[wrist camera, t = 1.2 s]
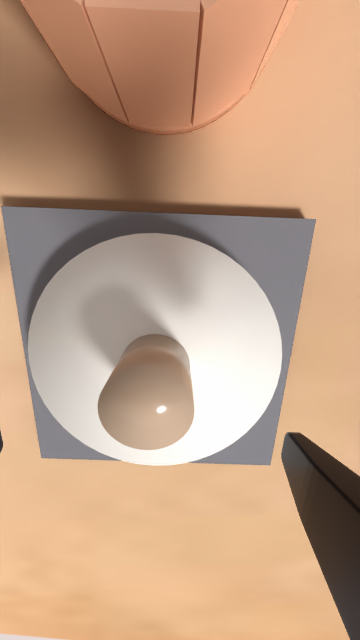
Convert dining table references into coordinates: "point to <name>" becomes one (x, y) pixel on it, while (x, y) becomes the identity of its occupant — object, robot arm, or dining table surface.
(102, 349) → the lid
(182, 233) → the mat
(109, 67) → the bowl
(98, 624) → the dining table surface
